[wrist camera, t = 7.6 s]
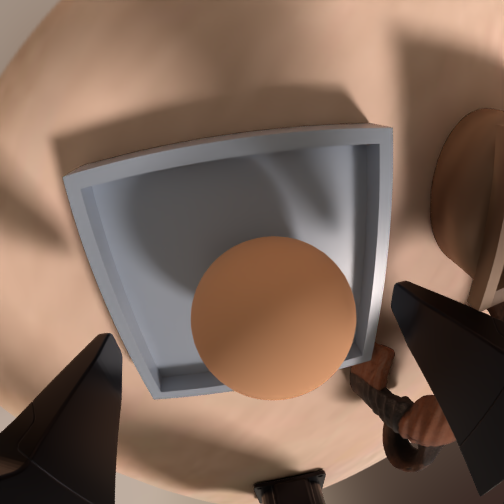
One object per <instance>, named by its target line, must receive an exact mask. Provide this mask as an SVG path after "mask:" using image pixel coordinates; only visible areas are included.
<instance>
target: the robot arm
mask: <svg viewBox="0 0 504 504" xmlns="http://www.w3.org/2000/svg"><path fill="white" fill-rule="evenodd" d="M391 308H392V311H393V314H394V316H395V318H396V320H397V322H398V325H399V327H400V329H401V331H402V334H403V336H404V338H405V341H406V343H407V345H408V347H409V349H410V351H411V353H412V355H413V356H414V358H415V360H416V362H417V364H418V365H419V367H420V369H421V371H422V373H423V375H424V376H425V378H426V380H427V382H428V384H429V386H430V388H431V390H432V392H433V394H434V396H435V398H436V399H437V401H438V403H439V405H440V407H441V409H442V411H443V413H444V416H445V418H446V420H447V422H448V424H449V426H450V428H451V430H452V432H453V434H454V437H455V439H456V441H457V443H458V445H459V446H460V450H461V452H462V455H463V457H464V459H465V462H466V464H467V466H468V469H469V471H470V473H471V476H472V478H473V481H474V483H475V485H476V488H477V491H478V493H479V495H480V496H482V495H484V494H485V493H487V492H488V491H490V490H491V489H492V488H494V487H495V486H496V485H497V484H499V483H500V482H502V481H503V480H504V321H502V320H499V319H497V318H495V317H492V316H490V315H488V314H485V313H483V312H481V311H478V310H476V309H474V308H471V307H469V306H467V305H464V304H462V303H460V302H457V301H455V300H452V299H450V298H448V297H445V296H443V295H440V294H438V293H435V292H433V291H431V290H428V289H426V288H423V287H421V286H418V285H416V284H413V283H411V282H409V281H402V282H398V283H396V284H395V285H394V289H393V295H392V301H391ZM121 400H122V353H121V351H120V349H119V347H118V345H117V343H116V341H115V339H114V337H113V335H112V334H111V333H104V334H99V335H98V336H96V337H95V338H94V339H93V340H92V341H91V342H90V343H89V344H88V345H87V346H86V347H85V348H84V349H83V350H82V351H81V352H80V353H79V354H78V355H77V356H76V357H75V358H74V359H73V360H72V361H71V362H70V363H69V364H68V365H67V366H66V367H65V368H64V369H63V370H62V371H61V372H60V373H59V374H58V375H57V376H56V377H55V378H54V379H53V380H52V381H51V382H50V383H49V384H48V385H47V387H46V388H45V389H44V390H43V391H42V392H41V393H40V394H39V395H38V396H37V397H36V398H35V399H34V400H33V402H31V403H30V404H29V405H28V406H27V407H26V409H25V410H24V411H23V412H22V413H21V414H20V415H19V416H18V417H17V418H16V419H15V420H14V421H13V422H12V423H11V424H9V425H8V426H7V427H6V428H5V429H4V430H3V431H2V432H1V433H0V504H115V475H116V456H117V442H118V430H119V420H120V410H121ZM325 476H326V474H325V471H324V470H322V471H317V472H313V473H309V474H305V475H301V476H296V477H291V478H286V479H281V480H276V481H270V482H264V483H258V484H255V485H253V487H254V491H255V493H256V496H257V498H258V500H259V503H261V504H325V500H324V497H323V494H322V487H323V483H324V480H325ZM503 504H504V503H503Z"/></svg>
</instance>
